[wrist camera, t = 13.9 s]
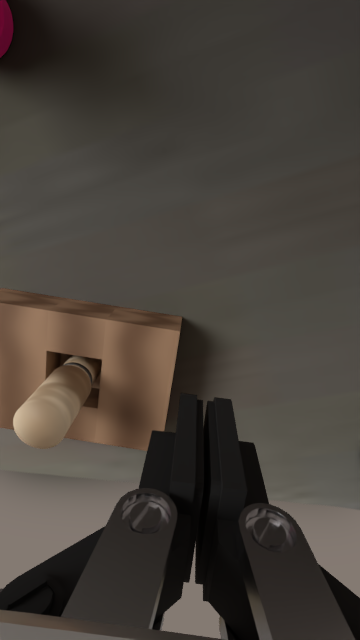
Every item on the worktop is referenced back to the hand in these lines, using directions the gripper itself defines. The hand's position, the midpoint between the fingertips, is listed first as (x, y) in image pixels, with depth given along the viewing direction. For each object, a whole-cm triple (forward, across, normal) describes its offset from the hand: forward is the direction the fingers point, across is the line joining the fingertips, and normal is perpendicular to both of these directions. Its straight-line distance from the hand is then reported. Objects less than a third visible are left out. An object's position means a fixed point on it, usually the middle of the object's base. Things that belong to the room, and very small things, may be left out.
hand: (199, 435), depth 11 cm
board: (+26, +12, +10) cm, 30 cm away
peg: (+25, +12, +10) cm, 30 cm away
